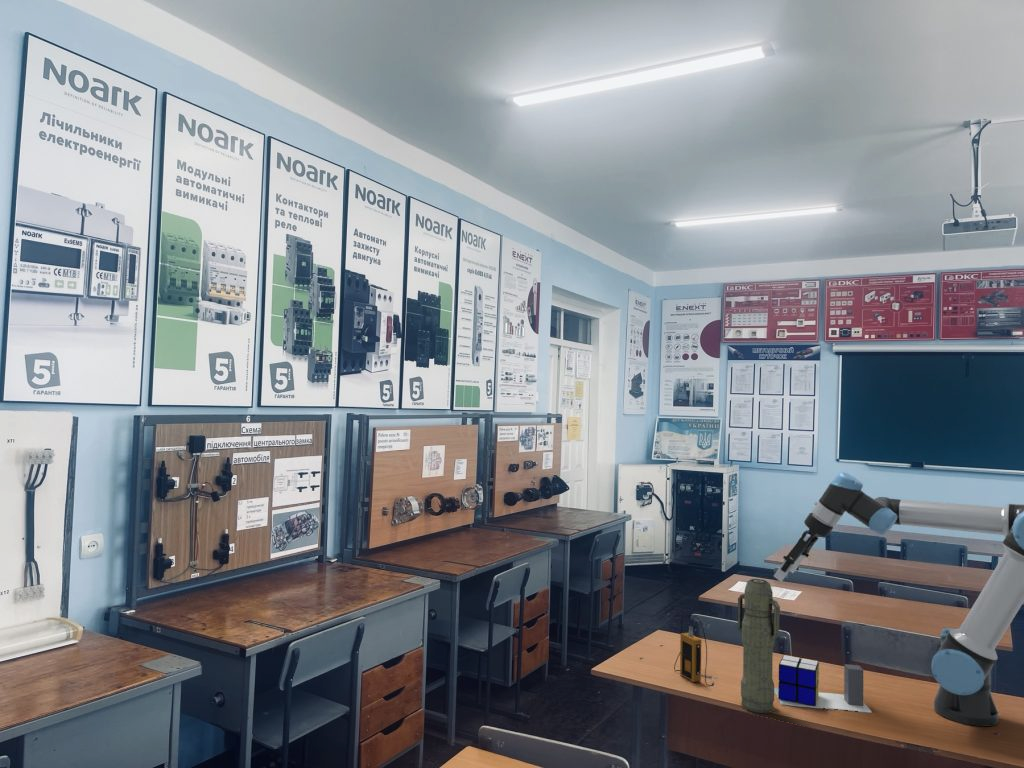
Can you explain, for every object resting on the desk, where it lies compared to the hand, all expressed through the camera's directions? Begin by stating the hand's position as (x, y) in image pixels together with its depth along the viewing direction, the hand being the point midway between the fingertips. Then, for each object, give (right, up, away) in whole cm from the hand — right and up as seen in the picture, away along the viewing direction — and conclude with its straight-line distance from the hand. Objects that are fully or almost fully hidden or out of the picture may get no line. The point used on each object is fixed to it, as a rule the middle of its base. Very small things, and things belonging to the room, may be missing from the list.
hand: (783, 574), depth 217 cm
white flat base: (+6, -33, -13) cm, 36 cm away
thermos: (-14, -32, -18) cm, 40 cm away
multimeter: (-25, -33, +4) cm, 42 cm away
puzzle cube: (0, -33, -11) cm, 35 cm away
